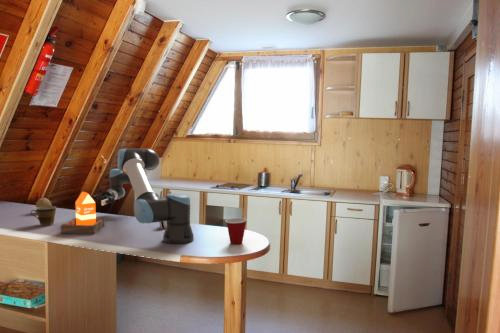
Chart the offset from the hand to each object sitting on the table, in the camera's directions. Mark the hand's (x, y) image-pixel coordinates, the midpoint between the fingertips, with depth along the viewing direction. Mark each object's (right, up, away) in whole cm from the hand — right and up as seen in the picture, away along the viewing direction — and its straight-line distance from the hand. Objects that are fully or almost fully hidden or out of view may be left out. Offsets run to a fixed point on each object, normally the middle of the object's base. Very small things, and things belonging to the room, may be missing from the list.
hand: (90, 202), depth 228 cm
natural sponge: (-43, -10, +34) cm, 56 cm away
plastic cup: (+82, -18, -27) cm, 89 cm away
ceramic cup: (-27, -13, +3) cm, 31 cm away
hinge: (+44, -14, +6) cm, 46 cm away
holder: (-1, -14, -7) cm, 16 cm away
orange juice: (0, -14, -7) cm, 15 cm away
